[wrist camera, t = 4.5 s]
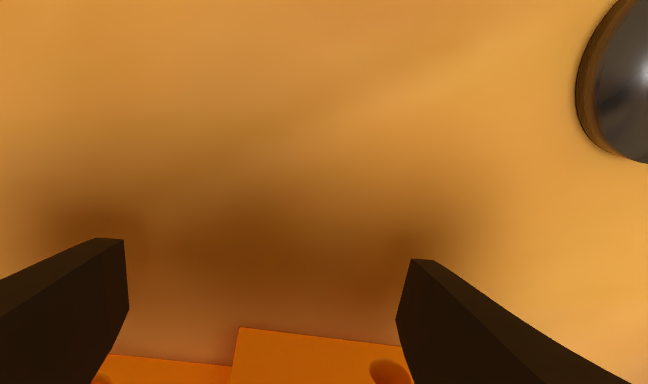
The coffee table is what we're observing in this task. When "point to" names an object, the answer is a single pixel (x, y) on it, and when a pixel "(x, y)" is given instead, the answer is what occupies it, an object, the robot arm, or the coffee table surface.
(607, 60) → the ball stud
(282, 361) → the pipe clamp
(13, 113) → the coffee table surface
